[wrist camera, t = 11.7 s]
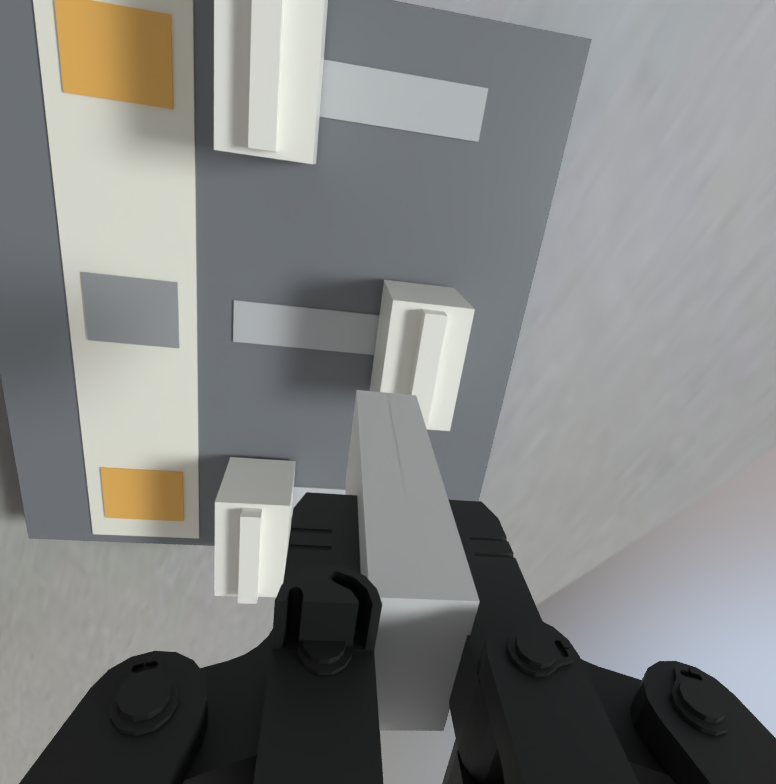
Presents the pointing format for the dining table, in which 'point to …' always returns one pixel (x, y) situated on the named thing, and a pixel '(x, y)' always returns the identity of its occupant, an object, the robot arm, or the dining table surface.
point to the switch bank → (251, 248)
